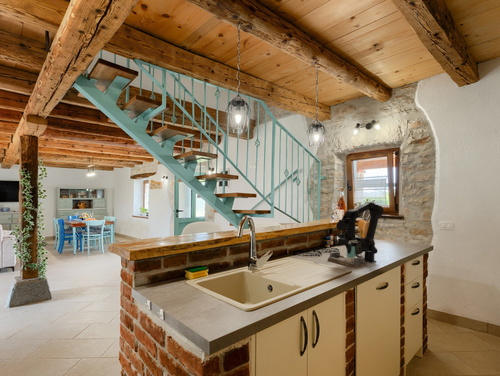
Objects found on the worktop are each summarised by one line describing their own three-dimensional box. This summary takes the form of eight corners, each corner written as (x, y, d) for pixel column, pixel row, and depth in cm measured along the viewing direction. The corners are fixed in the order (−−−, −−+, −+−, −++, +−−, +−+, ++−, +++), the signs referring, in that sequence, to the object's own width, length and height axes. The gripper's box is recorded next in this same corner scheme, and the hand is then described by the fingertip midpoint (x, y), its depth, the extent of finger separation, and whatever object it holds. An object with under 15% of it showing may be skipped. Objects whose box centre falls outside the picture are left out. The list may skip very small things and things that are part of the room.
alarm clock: (362, 255, 212) (362, 233, 212) (365, 257, 207) (365, 234, 207) (347, 254, 213) (348, 233, 213) (349, 256, 208) (349, 234, 208)
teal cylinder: (350, 259, 189) (350, 245, 189) (358, 261, 184) (358, 246, 184) (343, 261, 186) (343, 245, 186) (350, 263, 180) (350, 247, 181)
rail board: (340, 258, 200) (340, 251, 200) (366, 265, 181) (366, 257, 181) (327, 260, 194) (327, 252, 194) (353, 267, 175) (353, 259, 175)
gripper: (350, 227, 197) (350, 250, 196) (331, 229, 187) (331, 252, 187) (364, 229, 187) (364, 253, 187) (344, 231, 178) (344, 255, 177)
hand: (350, 253), depth 185 cm, fingers closed on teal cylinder, 3 cm apart
